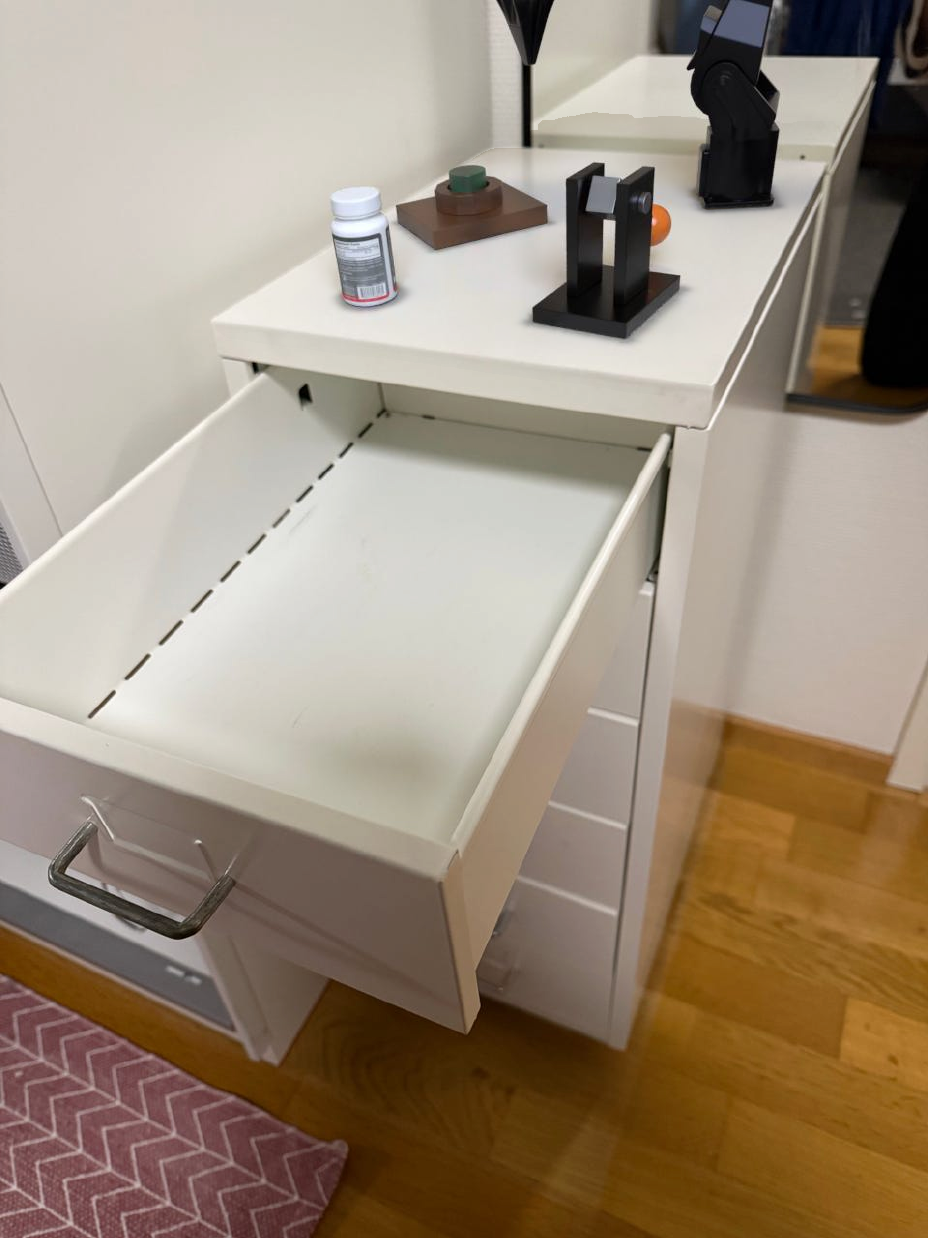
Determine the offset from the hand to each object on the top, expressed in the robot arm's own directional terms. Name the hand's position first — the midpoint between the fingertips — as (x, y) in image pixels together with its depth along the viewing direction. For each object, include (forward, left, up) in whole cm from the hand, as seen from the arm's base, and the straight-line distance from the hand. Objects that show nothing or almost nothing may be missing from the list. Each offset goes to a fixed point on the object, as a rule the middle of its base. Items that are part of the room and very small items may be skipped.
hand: (529, 64), depth 84 cm
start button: (+6, +7, -9) cm, 13 cm away
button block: (+6, +7, -12) cm, 15 cm away
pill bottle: (+13, +25, -12) cm, 31 cm away
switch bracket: (-7, +29, -12) cm, 32 cm away
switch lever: (-9, +26, -8) cm, 28 cm away
